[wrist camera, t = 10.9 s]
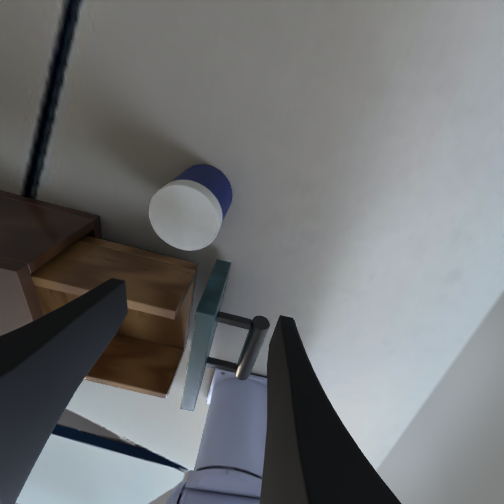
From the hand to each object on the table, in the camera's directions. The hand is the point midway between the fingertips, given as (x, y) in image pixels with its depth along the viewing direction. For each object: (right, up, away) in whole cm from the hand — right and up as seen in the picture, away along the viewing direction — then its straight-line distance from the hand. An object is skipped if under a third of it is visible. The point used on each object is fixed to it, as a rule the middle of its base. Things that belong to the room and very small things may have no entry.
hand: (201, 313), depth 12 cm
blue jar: (-1, +7, +7) cm, 10 cm away
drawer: (-6, -2, +12) cm, 13 cm away
